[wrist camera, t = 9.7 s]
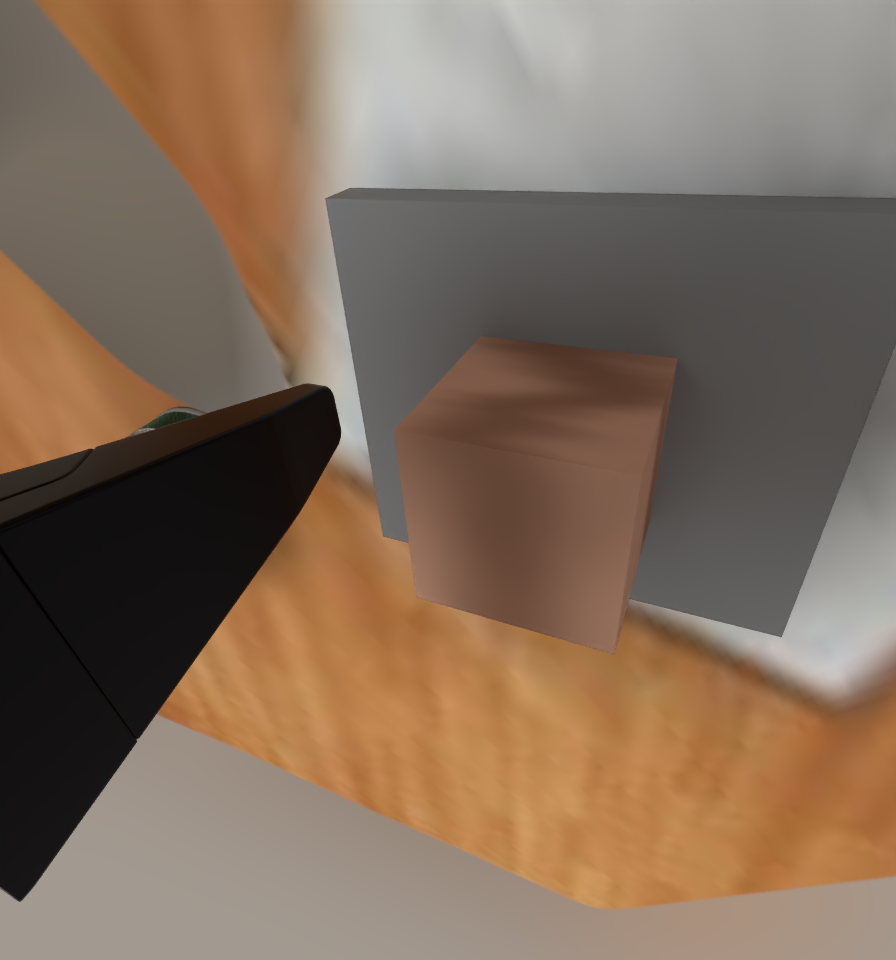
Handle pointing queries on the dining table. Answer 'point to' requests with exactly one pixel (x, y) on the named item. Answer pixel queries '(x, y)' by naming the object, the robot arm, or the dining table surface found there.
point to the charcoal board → (648, 350)
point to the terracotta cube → (535, 484)
